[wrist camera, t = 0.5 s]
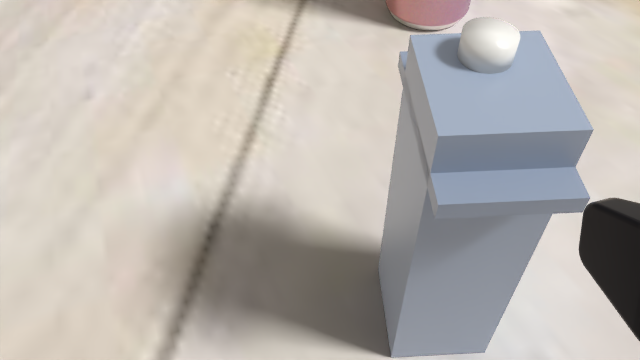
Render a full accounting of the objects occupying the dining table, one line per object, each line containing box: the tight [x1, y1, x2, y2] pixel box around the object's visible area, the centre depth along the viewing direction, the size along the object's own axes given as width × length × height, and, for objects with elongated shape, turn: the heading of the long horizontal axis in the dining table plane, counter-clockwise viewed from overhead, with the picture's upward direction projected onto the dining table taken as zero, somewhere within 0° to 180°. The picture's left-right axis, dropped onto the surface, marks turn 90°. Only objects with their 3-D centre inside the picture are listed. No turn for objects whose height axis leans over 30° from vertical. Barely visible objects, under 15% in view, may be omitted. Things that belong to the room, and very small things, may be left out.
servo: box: [378, 17, 593, 357], centre depth 21 cm, size 7×4×14 cm, turn 3°
